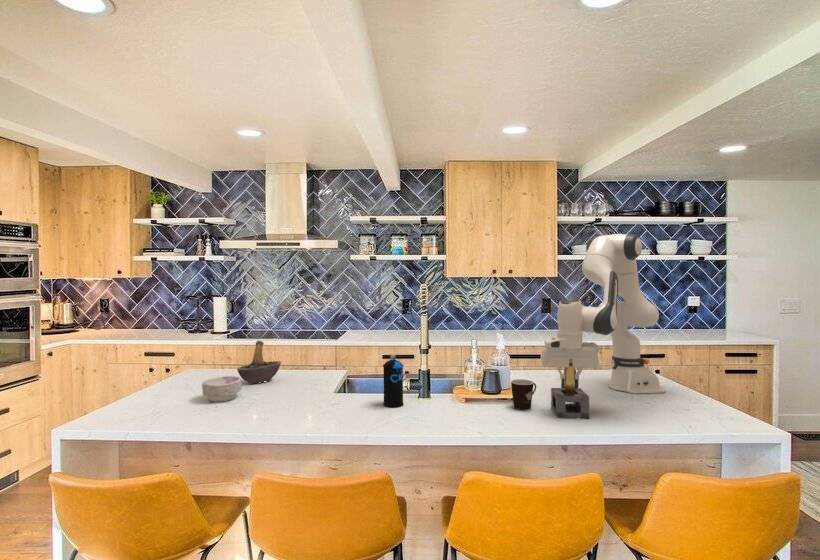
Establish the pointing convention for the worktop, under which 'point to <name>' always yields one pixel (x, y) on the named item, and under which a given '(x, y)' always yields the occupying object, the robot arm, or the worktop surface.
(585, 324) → the robot arm
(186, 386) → the worktop surface
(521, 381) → the coffee mug
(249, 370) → the mortar and pestle
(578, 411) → the collar stand
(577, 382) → the supplement bottle
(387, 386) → the aerosol can
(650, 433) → the worktop surface
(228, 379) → the grey stone bowl
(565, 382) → the brass tube
